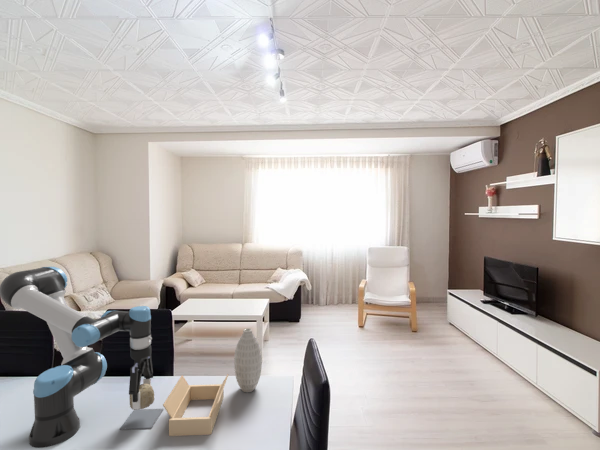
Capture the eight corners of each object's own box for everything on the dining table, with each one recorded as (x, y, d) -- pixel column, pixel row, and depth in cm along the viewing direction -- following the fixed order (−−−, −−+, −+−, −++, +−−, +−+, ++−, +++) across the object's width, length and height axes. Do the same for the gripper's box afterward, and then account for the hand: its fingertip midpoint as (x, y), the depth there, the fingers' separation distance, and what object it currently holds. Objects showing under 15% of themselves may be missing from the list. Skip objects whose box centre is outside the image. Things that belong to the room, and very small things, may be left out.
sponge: (137, 420, 124) (149, 401, 122) (119, 404, 125) (131, 385, 124) (153, 406, 133) (164, 388, 132) (136, 391, 134) (147, 373, 133)
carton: (162, 436, 119) (161, 406, 118) (183, 398, 143) (182, 373, 143) (218, 434, 120) (217, 404, 119) (229, 397, 144) (229, 372, 144)
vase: (259, 396, 144) (259, 334, 143) (231, 396, 144) (230, 334, 144) (263, 381, 157) (263, 325, 156) (237, 381, 157) (236, 325, 156)
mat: (119, 429, 123) (119, 428, 123) (134, 410, 135) (134, 409, 135) (151, 428, 123) (151, 427, 123) (163, 409, 135) (163, 408, 135)
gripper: (138, 357, 117) (139, 418, 118) (160, 335, 139) (162, 386, 140) (117, 358, 117) (118, 418, 118) (143, 335, 139) (144, 387, 139)
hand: (142, 401), depth 129 cm, fingers closed on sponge, 9 cm apart
